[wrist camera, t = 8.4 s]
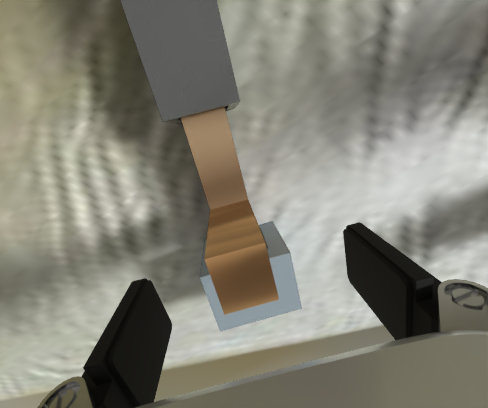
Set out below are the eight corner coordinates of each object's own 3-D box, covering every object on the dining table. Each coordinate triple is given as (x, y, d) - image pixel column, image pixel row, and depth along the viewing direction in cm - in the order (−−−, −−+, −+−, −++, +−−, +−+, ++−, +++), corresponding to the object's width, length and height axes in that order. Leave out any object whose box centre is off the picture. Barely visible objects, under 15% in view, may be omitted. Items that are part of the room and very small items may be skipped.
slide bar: (169, 62, 17) (103, -22, 7) (208, 52, 17) (194, -45, 7) (232, 265, 23) (241, 363, 13) (261, 257, 23) (291, 349, 13)
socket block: (204, 239, 23) (199, 277, 17) (272, 221, 23) (290, 252, 17) (220, 284, 24) (220, 331, 19) (282, 266, 24) (301, 308, 19)
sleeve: (121, -46, 15) (77, -123, 11) (193, -64, 15) (181, -149, 11) (176, 123, 19) (162, 121, 14) (234, 107, 19) (240, 101, 14)
